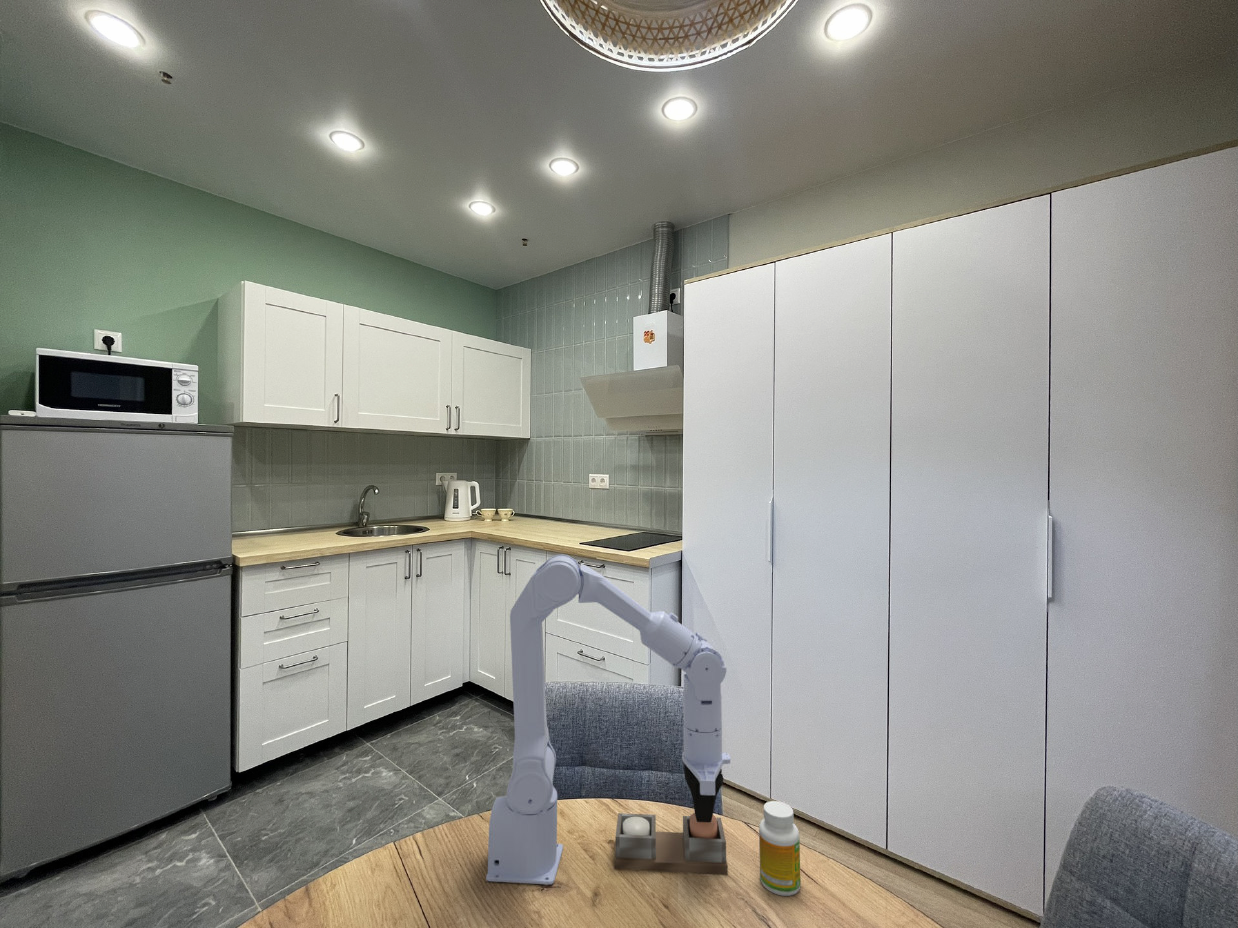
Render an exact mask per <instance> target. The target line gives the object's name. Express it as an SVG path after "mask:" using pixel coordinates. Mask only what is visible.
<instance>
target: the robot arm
mask: <svg viewBox="0 0 1238 928" xmlns="http://www.w3.org/2000/svg"><path fill="white" fill-rule="evenodd" d="M577 595H578V603H580V604H587V603H588V604H589V603H597V604H599V605H600V606H602V607H603V608H605V609H607V610H608V611H610V612H612V614H614V615H616V616H617V617H618V618H620V619H622V620H623V621H624V622H626V623H627V624H629V625H630V626H632V627H634V628H635V629H636V630H637V631H639V636H640V640H641V641H640V642H641V644H643V645H644V646H646V647H647V648H648V649H649V650H651V651H652V652H653V653H655V654H656V655H658V656H659V657H661V658H662V659H663V660H664V661H666V662H667V663H668V664H670V665H672V667H674V668H676V669H681V670H682V671H683V672H685V673H684V674H683V693H682V694H683V696H682V699H683V703H682V705H683V712H682V713H683V751H682V757H681V758H682V762H683V773H684V779H685V782H686V785H687V786H688V788H689V792H690V794H691V798H692V802H693V803H692V804H693V810H694V813H695V816H696V820H697V822H711V820H712V816H713V815H714V810H715V804H716V800H717V797H718V794H719V791H720V790H721V788H722V787H723V783H724V775H723V769H722V768H723V765H730V764H731V756H730V754H729V753H728V752H723V721H722V720H723V717H722V715H723V713H722V711H723V710H722V709H723V707H722V691H721V690H722V689H721V687H722V686H721V684H722V683H723V681H724V680H725V678H726V675H727V667H726V666H725V662H724V660H723V656H722V655H721V654H720V653H719V652H718V651H717V650H716V649H715V647H713V646H712V644H711V643H710V642H708V640H707V639H705V638H704V636H703V635H702V634H700V633H699V632H695V633H694V632H692V631H691V630H690V629H688V628H687V627H686V626H684V625H683V624H682V623H680V622H679V617H678V616H677V615H676V614H674V613H673V612H669V613H666V612H665V610H659V611H653V612H651V611H649V610H648V609H646V608H645V607H644V606H643V605H642V604H640V603H638V602H637V601H636V600H635V599H633V598H632V597H631V596H629V595H628V593H626V592H624V590H622V589H620V588H619V587H618V586H617V585H615V584H614V583H613V582H612V581H610V580H609V579H608V578H607V577H605V576H603V575H602V574H601V573H599V572H598V571H596V570H594V569H592V568H591V567H589V566H587V565H585V564H584V563H580V565H579V563H578V562H577V560H575V558H573V557H572V556H570V555H567V554H556V555H553V556H551V557H550V558H549V559H547V560H546V561H545V562H544V563H542V564H541V565H540V566H539V567H538V568H536V570H535V572H533V574H532V575H531V577H530V578H529V580H528V582H527V583H526V584H525V587H524V588H523V590H522V592H520V594H519V596H518V598H517V599H516V601H515V603H514V604H513V606H512V608H511V610H510V613H509V614H510V615H509V622H510V644H511V646H510V649H511V669H512V670H511V673H512V674H511V675H512V677H511V678H512V695H513V696H512V697H513V698H512V699H513V717H514V718H513V719H514V721H513V722H514V724H513V725H514V744H513V745H514V746H513V755H512V771H511V775H510V778H509V779H508V783H507V787H506V795H504V796H498V797H496V798H495V800H494V803H493V804H492V808H491V812H490V817H489V823H488V843H487V844H488V845H487V846H488V848H487V850H488V851H487V874H486V875H485V876H486V877H485V880H486V881H487V882H500V883H501V882H502V883H516V884H517V883H518V884H536V885H553V884H554V883H555V880H556V877H557V873H558V869H559V866H560V862H561V858H562V854H563V851H564V845H563V844H562V843H557V842H558V792H557V789H556V788H555V786H554V785H553V784H554V783H553V781H554V772H555V768H556V765H557V764H556V763H557V756H556V751H555V749H554V747H553V746H552V744H551V742H550V735H549V734H550V732H549V728H548V723H547V721H548V720H547V703H546V702H547V700H546V698H547V697H546V696H547V695H546V678H545V677H546V675H545V656H544V655H545V654H544V636H543V635H544V634H543V633H544V632H543V622H544V621H545V620H546V619H547V618H548V617H549V616H550V615H551V614H552V612H553V611H555V610H556V609H558V608H560V607H562V606H564V605H566V604H568V603H569V602H571V601H572V600H574V599H575V598H576V597H577Z"/></svg>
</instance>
